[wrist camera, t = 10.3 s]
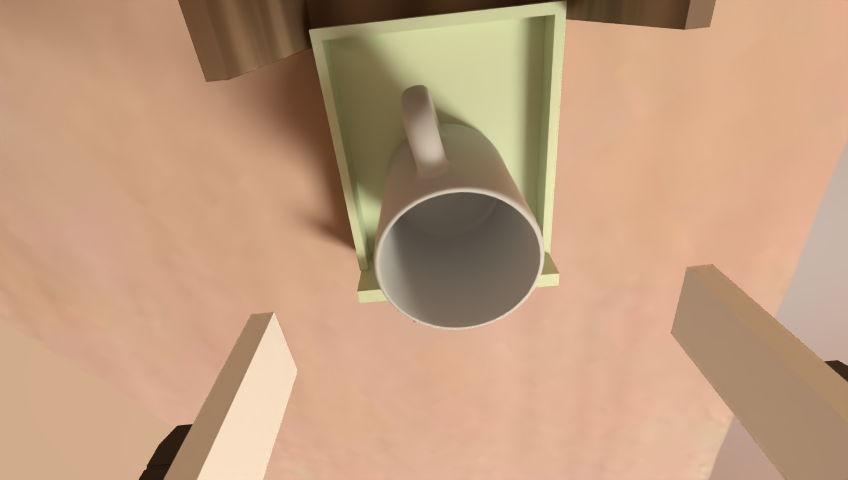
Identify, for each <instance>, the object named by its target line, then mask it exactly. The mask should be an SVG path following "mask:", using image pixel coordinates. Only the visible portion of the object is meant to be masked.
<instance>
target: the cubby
mask: <svg viewBox="0 0 848 480" xmlns="http://www.w3.org/2000/svg"><path fill="white" fill-rule="evenodd" d="M178 1H179V4H180V7H181V10H182V13H183V16H184V19H185V22H186V24H187V27H188V30H189V33H190V36H191V39H192V42H193V45H194V47H195V50H196V53H197V56H198V59H199V62H200V65H201V68H202V71H203V73H204V76H205V79H206V82H211V81H220V80H229V79H232V78H234V77H237V76H240V75H242V74H245V73H247V72H250V71H252V70H255V69H257V68H260V67H262V66H265V65H267V64H270V63H273V62H275V61H278V60H280V59H283V58H285V57H288V56H290V55H293V54H295V53H298V52H300V51H303V50H306V49H308V48H311V47H312V43H311V38H310V34H309V29H314V28H319V27H327V26H336V25H345V24H353V23H362V22H371V21H380V20H389V19H398V18H406V17H415V16H424V15H433V14H442V13H451V12H460V11H468V10H477V9H486V8H495V7H504V6H513V5H522V4H530V3H539V2H548V1H567V9H566V19H569V20H581V21H592V22H603V23H615V24H626V25H637V26H649V27H660V28H671V29H683V30H687V29H696V28H705V27H710V23H711V19H712V15H713V10H714V6H715V1H716V0H178Z"/></svg>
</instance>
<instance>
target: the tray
mask: <svg viewBox="0 0 848 480" xmlns="http://www.w3.org/2000/svg"><path fill="white" fill-rule="evenodd" d="M566 9H567V1H548V2H539V3H530V4H522V5H513V6H504V7H495V8H486V9H477V10H468V11H460V12H451V13H442V14H433V15H424V16H415V17H406V18H398V19H389V20H380V21H371V22H362V23H353V24H345V25H336V26H327V27H319V28H314V29H309V34H310V38H311V43H312V48H313V52H314V57H315V62H316V66H317V71H318V76H319V80H320V85H321V90H322V94H323V99H324V104H325V108H326V113H327V118H328V122H329V127H330V132H331V136H332V141H333V146H334V150H335V155H336V160H337V164H338V169H339V174H340V178H341V183H342V188H343V192H344V197H345V202H346V206H347V211H348V216H349V220H350V225H351V230H352V234H353V239H354V244H355V248H356V253H357V258H358V262H359V267H360V271H361V276H360V281H359V286H358V291H357V293H358V297H359V301H360V303H363V302H375V301H386V300H387V298H386V297H385V295H384V294H383V292H382V290H381V288H380V286H379V284H378V281H377V279H376V275H375V270H374V247H375V240H376V234H377V229H378V223H379V217H380V211H381V205H382V200H383V194H384V187H385V178H386V172H387V168H388V165H389V162H390V160H391V158H392V156H393V154H394V152H395V151H396V149H397V148H398V147H399V146H400V144H401V143H402V142H403V141H404V140H405V139H407V138H408V137H407V133H406V130H405V126H404V122H403V116H402V109H401V97H402V94H403V92H404V91H405V90H406V89H408V88H410V87H412V86H415V85H424V86H425V87H427V88H428V90H429V92H430V95H431V98H432V101H433V105H434V108H435V112H436V115H437V119H438V122H439V124H445V123H446V124H458V125H463V126H466V127H469V128H472V129H474V130H476V131H478V132H479V133H481V134H483V135H484V136H485V137H486V138H487V139H489V140H490V141H491V142H492V144H493V145H494V146H495V147H496V149H497V150H498V152H499V153H500V155H501V157H502V159H503V161H504V163H505V165H506V167H507V169H508V171H509V173H510V174H511V176H512V178H513V180H514V182H515V183H516V185H517V187H518V189H519V191H520V192H521V194H522V196H523V198H524V199H525V201H526V203H527V205H528V207H529V208H530V210H531V212H532V214H533V216H534V217H535V219H536V221H537V224H538V226H539V228H540V231H541V234H542V238H543V242H544V251H545V255H544V265H543V269H542V273H541V276H540V278H539V281H538V283H537V284H536V286H535V287H544V286H555V285H558V284H559V272H558V270H557V268H556V266H555V264H554V262H553V261H552V259H551V257H550V255H549V253H550V246H551V231H552V216H553V201H554V186H555V172H556V157H557V142H558V127H559V112H560V98H561V83H562V68H563V53H564V38H565V24H566ZM413 321H414V320H413ZM414 322H416V321H414Z"/></svg>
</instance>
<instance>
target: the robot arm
mask: <svg viewBox="0 0 848 480" xmlns="http://www.w3.org/2000/svg"><path fill="white" fill-rule="evenodd" d="M671 334H672V335H673V337H674V338H675V339H676V340H677V342H678V343H679V344H680V346H681V347H682V348H683V349H684V351H685V352H686V353H687V355H688V356H689V357H690V358H691V360H692V361H693V362H694V363H695V365H696V366H697V367H698V369H699V370H700V371H701V372H702V374H703V375H704V376H705V378H706V379H707V380H708V381H709V383H710V384H711V385H712V387H713V388H714V389H715V390H716V392H717V393H718V394H719V396H720V397H721V398H722V399H723V401H724V402H725V403H726V405H727V406H728V407H729V408H730V410H731V411H732V412H733V413H734V415H735V416H736V417H737V419H738V420H739V421H740V422H741V424H742V425H743V426H744V427H745V429H746V430H747V431H748V433H749V434H750V435H751V436H752V438H753V439H754V440H755V442H756V443H757V444H758V445H759V447H760V448H761V449H762V451H763V452H764V453H765V454H766V456H767V457H768V458H769V460H770V461H771V462H772V464H773V465H774V466H775V467H776V469H777V470H778V471H779V472H780V474H781V475H782V476H783V478H784V479H785V480H848V366H847V365H845V364H843V363H842V362H840V361H838V360H835V361H825V362H824V361H823V360H822V359H820V358H819V357H818V356H817V355H816V354H815V353H814V352H812V351H811V350H810V349H809V348H808V347H807V346H806V345H804V344H803V343H802V342H801V341H800V340H799V339H797V338H796V337H795V336H794V335H793V334H792V333H791V332H789V331H788V330H787V329H786V328H785V327H783V325H781V324H780V323H779V322H778V321H777V320H776V319H775V318H773V317H772V316H771V315H770V314H769V313H768V312H766V311H765V310H764V309H763V308H762V307H761V306H760V305H758V304H757V303H756V302H755V301H754V300H753V299H752V298H750V297H749V296H748V295H747V294H746V293H745V292H744V291H742V290H741V289H740V288H739V287H738V286H737V285H736V284H734V283H733V282H732V281H731V280H730V279H729V278H727V277H726V276H725V275H724V274H723V273H722V272H721V271H719V270H718V269H717V268H716V267H715V266H714V265H713V264H711V265H702V266H692V267H687V269H686V273H685V277H684V282H683V286H682V290H681V294H680V298H679V302H678V306H677V310H676V314H675V318H674V322H673V326H672V331H671ZM297 372H298V371H297V369H296V366H295V364H294V361H293V359H292V356H291V353H290V351H289V348H288V346H287V343H286V341H285V338H284V336H283V333H282V331H281V328H280V326H279V323H278V321H277V318H276V316H275V313H274V312H271V313H262V314H253V315H251V316H250V318H249V320H248V321H247V323H246V325H245V327H244V329H243V331H242V333H241V335H240V337H239V338H238V340H237V342H236V344H235V346H234V348H233V350H232V352H231V353H230V355H229V357H228V359H227V361H226V363H225V365H224V367H223V369H222V370H221V372H220V374H219V376H218V378H217V380H216V382H215V384H214V385H213V387H212V389H211V391H210V393H209V395H208V397H207V399H206V401H205V402H204V404H203V406H202V408H201V410H200V412H199V414H198V416H197V417H196V419H195V421H194V423H193V424H189V425H179V426H177V427H176V428H175V429H174V430H173V431H172V432H171V433H170V434H169V435H168V436H167V437H166V438H165V439H164V440H163V441H162V442H161V444H159V446H158V447H157V449H156V451H155V453H154V454H153V456H152V458H151V460H150V461H149V463H148V465H147V469H146V470H144V471H143V473H142V475H141V477H140V478H139V480H263V477H264V474H265V471H266V468H267V465H268V462H269V459H270V456H271V452H272V449H273V446H274V443H275V440H276V437H277V434H278V431H279V428H280V424H281V421H282V418H283V415H284V412H285V409H286V406H287V403H288V400H289V397H290V393H291V390H292V387H293V384H294V381H295V378H296V375H297Z"/></svg>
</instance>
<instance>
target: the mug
mask: <svg viewBox="0 0 848 480" xmlns="http://www.w3.org/2000/svg"><path fill="white" fill-rule="evenodd" d="M401 109H402V116H403V122H404V126H405V130H406V133H407V137H408V138H407V139H405V140H404V141H403V142H402V143H401V144H400V146H399V147H398V148H397V149H396V151H395V152H394V154H393V156H392V158H391V160H390V162H389V165H388V168H387V172H386V178H385V187H384V194H383V200H382V205H381V211H380V217H379V223H378V229H377V234H376V240H375V247H374V270H375V275H376V279H377V281H378V284H379V286H380V288H381V290H382V292H383V294H384V295H385V297H386V298H387V300H388V301H389V302H390V303H391V304H392V305H393V306H394V307H395V308H396V309H397V310H398V311H400V312H401V313H402V314H404V315H405V316H407V317H408V318H410V319H412V320H414V321H416V322H418V323H421V324H424V325H427V326H430V327H435V328H440V329H450V330H460V329H470V328H475V327H480V326H483V325H487V324H489V323H492V322H495V321H497V320H499V319H501V318H503V317H505V316H506V315H508V314H509V313H511V312H512V311H514V310H515V309H516V308H517V307H519V306H520V305H521V304H522V303H523V302H524V301H525V300H526V299H527V298H528V297H529V295H530V294H531V292H532V291H533V290H534V288H535V286H536V284H537V283H538V281H539V278H540V276H541V273H542V269H543V265H544V255H545V251H544V242H543V238H542V234H541V231H540V228H539V226H538V224H537V221H536V219H535V217H534V216H533V214H532V212H531V210H530V208H529V207H528V205H527V203H526V201H525V199H524V198H523V196H522V194H521V192H520V191H519V189H518V187H517V185H516V183H515V182H514V180H513V178H512V176H511V174H510V173H509V171H508V169H507V167H506V165H505V163H504V161H503V159H502V157H501V155H500V153H499V152H498V150H497V149H496V147H495V146H494V145H493V144H492V142H491V141H490V140H489V139H487V138H486V137H485V136H484V135H483V134H481V133H479V132H478V131H476V130H474V129H472V128H469V127H466V126H463V125H458V124H446V123H445V124H439V122H438V119H437V115H436V112H435V108H434V105H433V101H432V98H431V95H430V92H429V90H428V88H427V87H425V86H424V85H415V86H412V87H410V88H408V89H406V90H405V91H404V92H403V94H402V97H401Z"/></svg>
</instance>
